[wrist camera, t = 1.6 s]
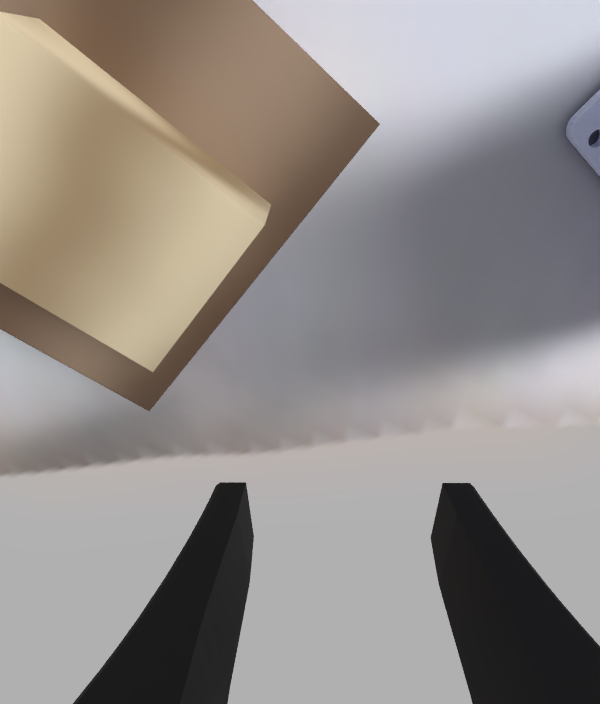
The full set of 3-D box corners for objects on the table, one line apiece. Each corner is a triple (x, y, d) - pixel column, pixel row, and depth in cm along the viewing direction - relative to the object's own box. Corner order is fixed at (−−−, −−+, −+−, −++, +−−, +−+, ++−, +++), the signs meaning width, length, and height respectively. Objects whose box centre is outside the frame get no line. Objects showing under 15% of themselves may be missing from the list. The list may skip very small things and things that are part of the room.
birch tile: (271, 204, 13) (264, 225, 11) (170, 339, 15) (153, 372, 14) (39, 18, 11) (-14, 9, 9) (-32, 213, 13) (-83, 234, 12)
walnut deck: (368, 113, 14) (379, 124, 12) (170, 367, 20) (149, 411, 17) (-5, -249, 10) (-109, -350, 8) (-117, 196, 16) (-198, 219, 13)
